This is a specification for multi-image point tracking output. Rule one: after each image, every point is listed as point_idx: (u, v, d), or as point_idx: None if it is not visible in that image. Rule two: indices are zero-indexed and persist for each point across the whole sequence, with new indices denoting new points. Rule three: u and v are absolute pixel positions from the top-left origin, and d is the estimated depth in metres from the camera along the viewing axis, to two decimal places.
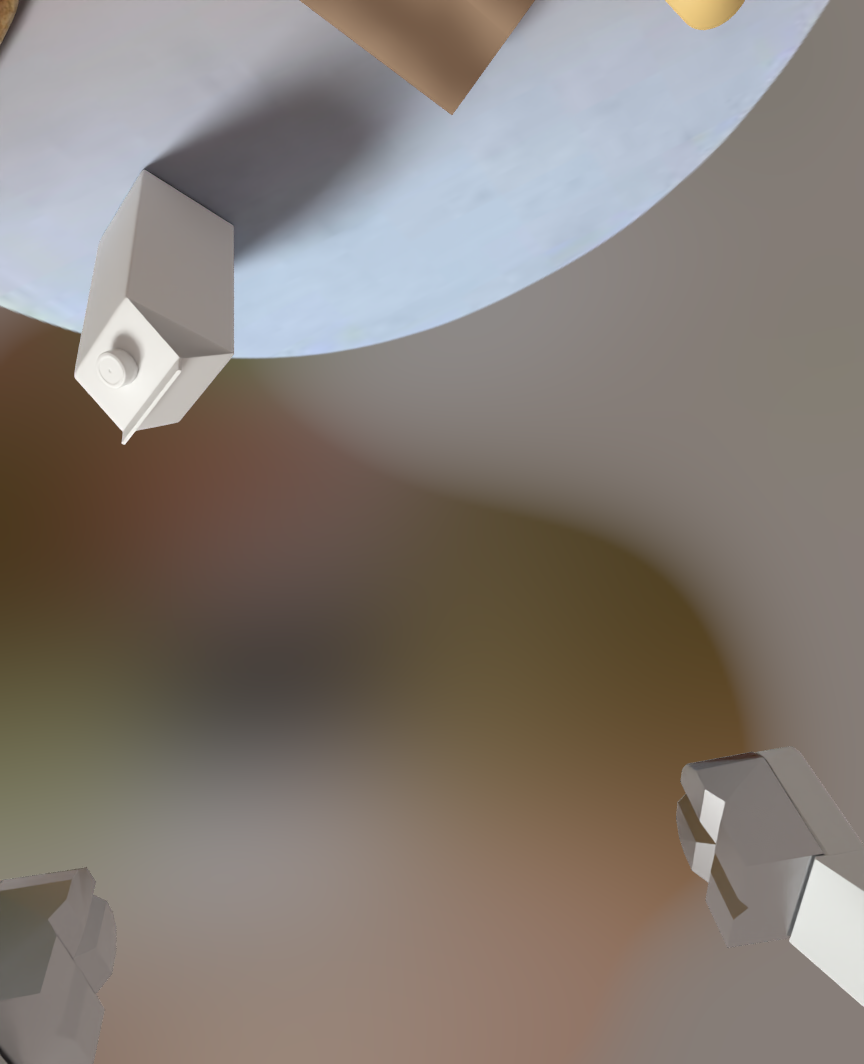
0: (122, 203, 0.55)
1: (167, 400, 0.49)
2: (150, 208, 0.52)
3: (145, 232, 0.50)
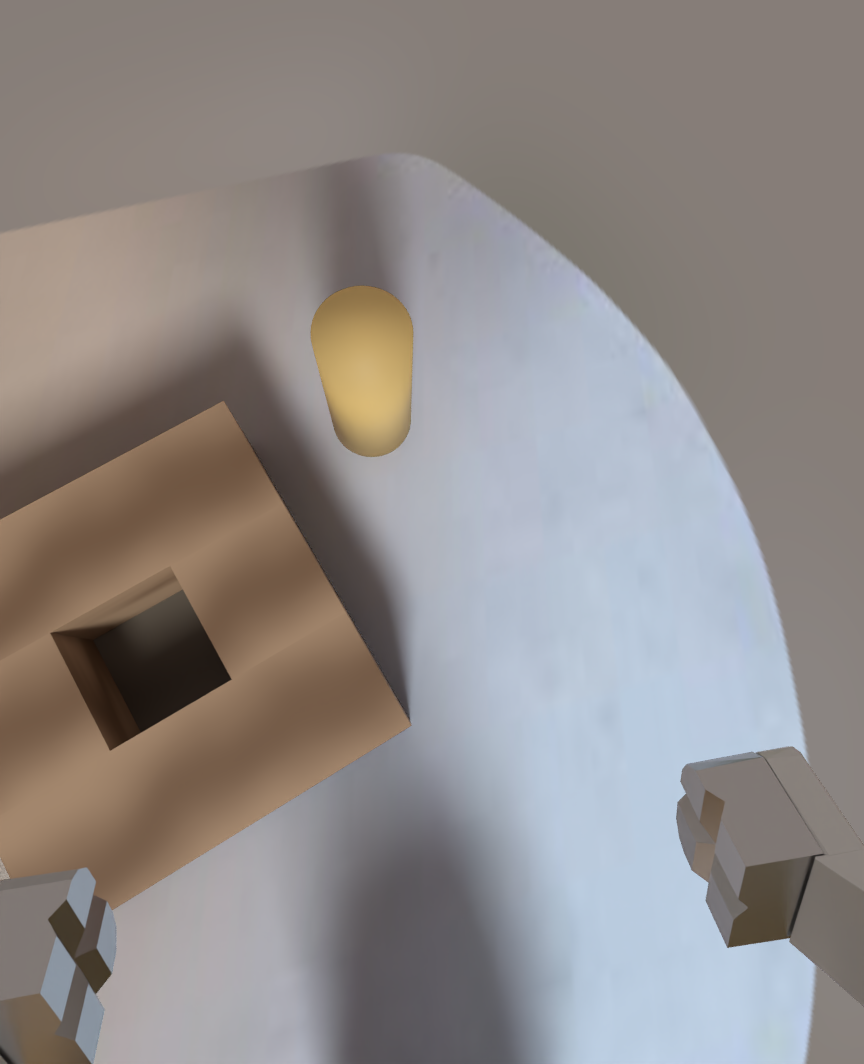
0: None
1: None
2: None
3: None
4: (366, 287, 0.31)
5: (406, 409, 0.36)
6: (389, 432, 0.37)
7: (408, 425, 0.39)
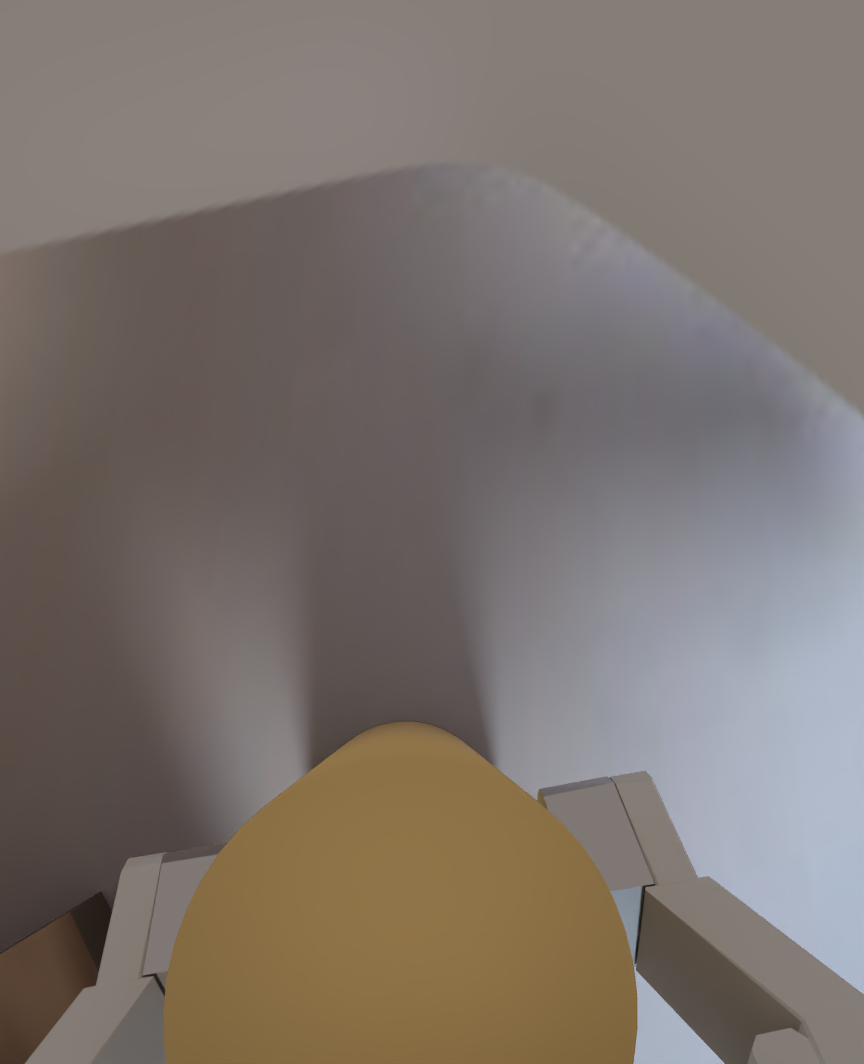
0: None
1: None
2: None
3: None
4: (420, 765, 0.07)
5: None
6: None
7: None
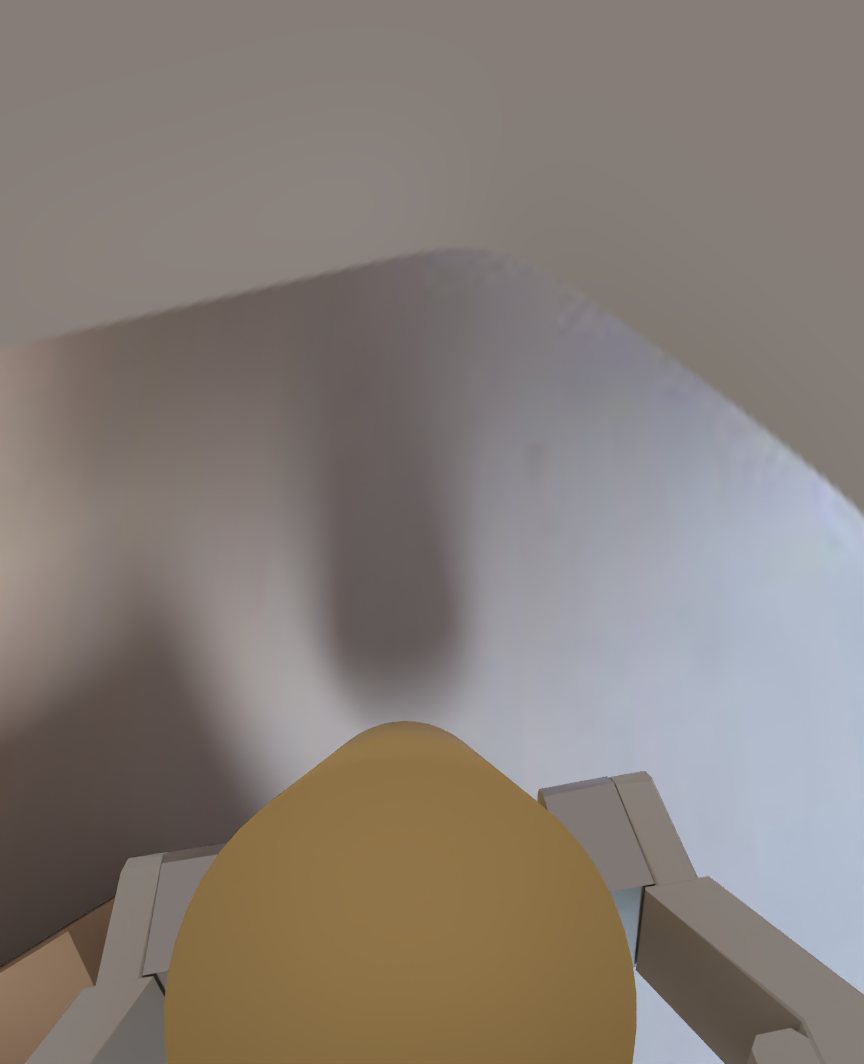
0: None
1: None
2: None
3: None
4: (420, 765, 0.07)
5: None
6: None
7: None
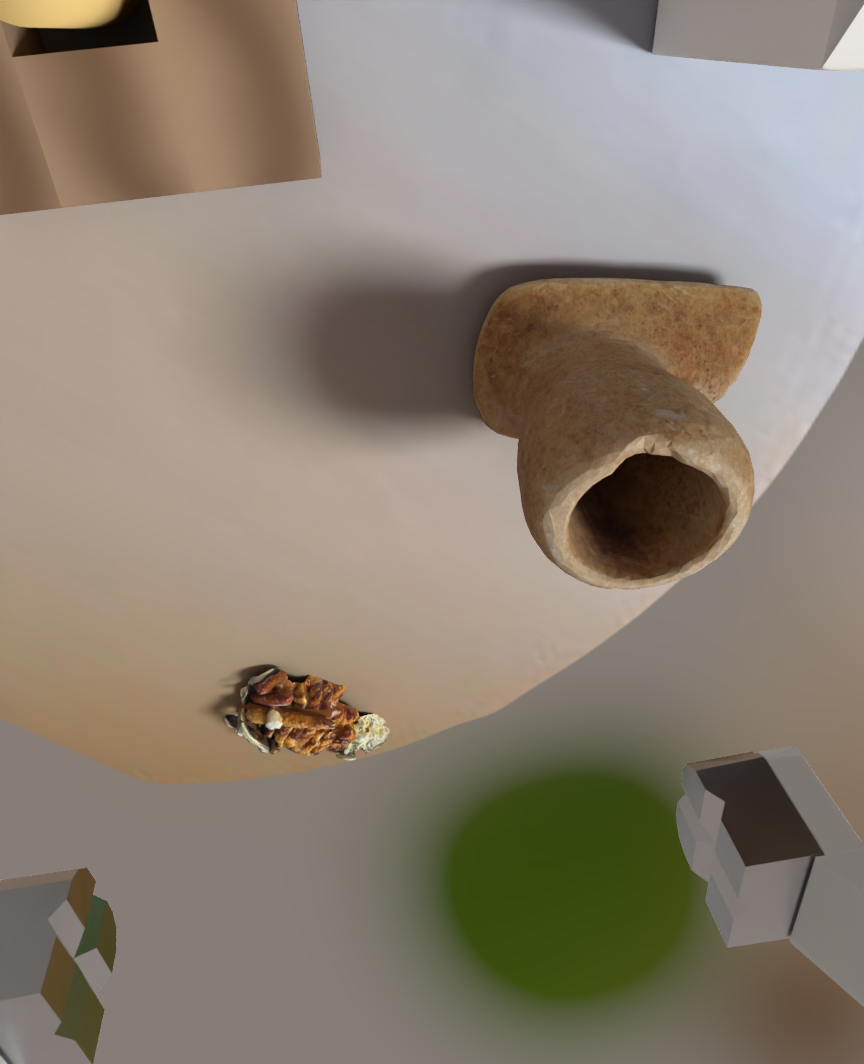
0: None
1: None
2: (691, 35, 0.33)
3: (722, 41, 0.30)
4: None
5: None
6: None
7: None
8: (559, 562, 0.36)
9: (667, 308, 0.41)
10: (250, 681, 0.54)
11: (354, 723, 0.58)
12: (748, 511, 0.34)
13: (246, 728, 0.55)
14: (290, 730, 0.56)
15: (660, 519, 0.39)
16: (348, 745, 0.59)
